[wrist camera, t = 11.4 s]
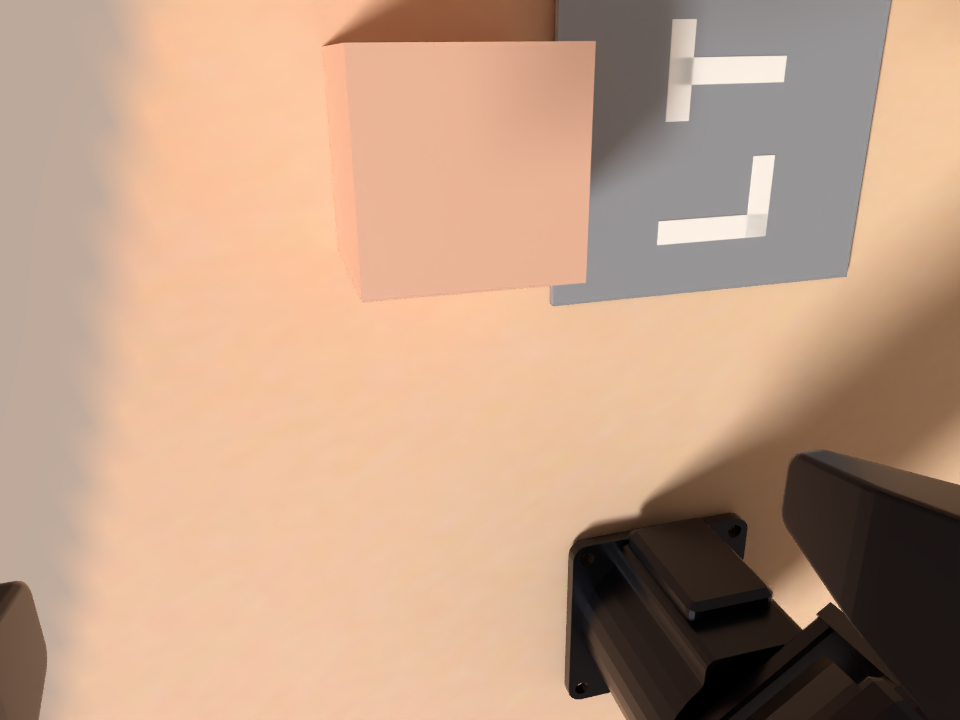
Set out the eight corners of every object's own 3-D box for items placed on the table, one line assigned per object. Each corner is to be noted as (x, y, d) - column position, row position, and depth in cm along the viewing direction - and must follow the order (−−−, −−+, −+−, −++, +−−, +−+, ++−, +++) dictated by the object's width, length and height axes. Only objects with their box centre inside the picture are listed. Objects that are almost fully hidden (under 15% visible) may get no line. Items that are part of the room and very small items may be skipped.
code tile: (841, 274, 25) (846, 276, 25) (550, 303, 23) (553, 306, 23) (890, -37, 22) (897, -38, 22) (555, -41, 20) (560, -43, 19)
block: (516, 236, 22) (586, 283, 17) (337, 249, 21) (362, 302, 16) (518, 45, 20) (595, 40, 16) (321, 46, 19) (343, 42, 14)
